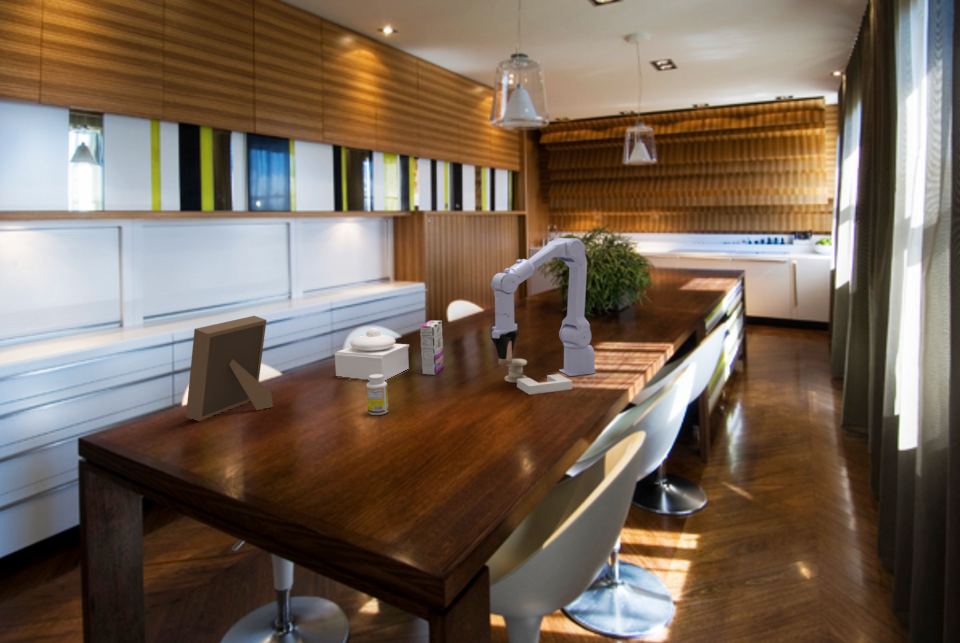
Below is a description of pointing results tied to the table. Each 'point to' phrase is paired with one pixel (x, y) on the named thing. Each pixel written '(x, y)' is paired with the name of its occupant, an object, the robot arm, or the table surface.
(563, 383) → the notched board
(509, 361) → the copper peg
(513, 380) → the bobbin
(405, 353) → the butter dish
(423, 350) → the candy bar box
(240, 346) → the photo frame
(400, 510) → the table surface
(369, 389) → the supplement bottle
